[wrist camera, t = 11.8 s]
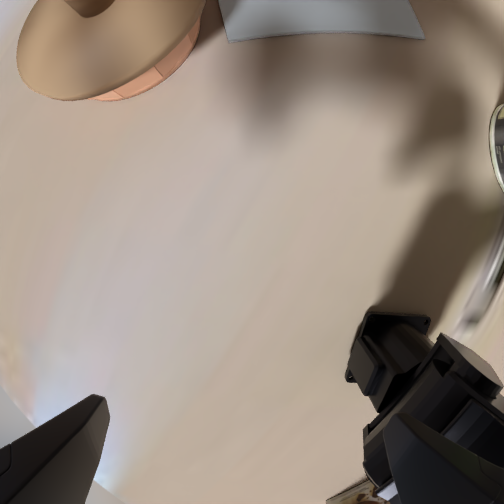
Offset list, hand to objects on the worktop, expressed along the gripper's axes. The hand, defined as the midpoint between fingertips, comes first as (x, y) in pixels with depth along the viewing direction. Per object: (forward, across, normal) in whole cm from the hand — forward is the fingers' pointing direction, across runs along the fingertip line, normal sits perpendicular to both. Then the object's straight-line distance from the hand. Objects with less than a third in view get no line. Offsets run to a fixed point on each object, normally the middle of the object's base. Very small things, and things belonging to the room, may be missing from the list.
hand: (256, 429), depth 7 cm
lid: (+9, +11, -17) cm, 22 cm away
